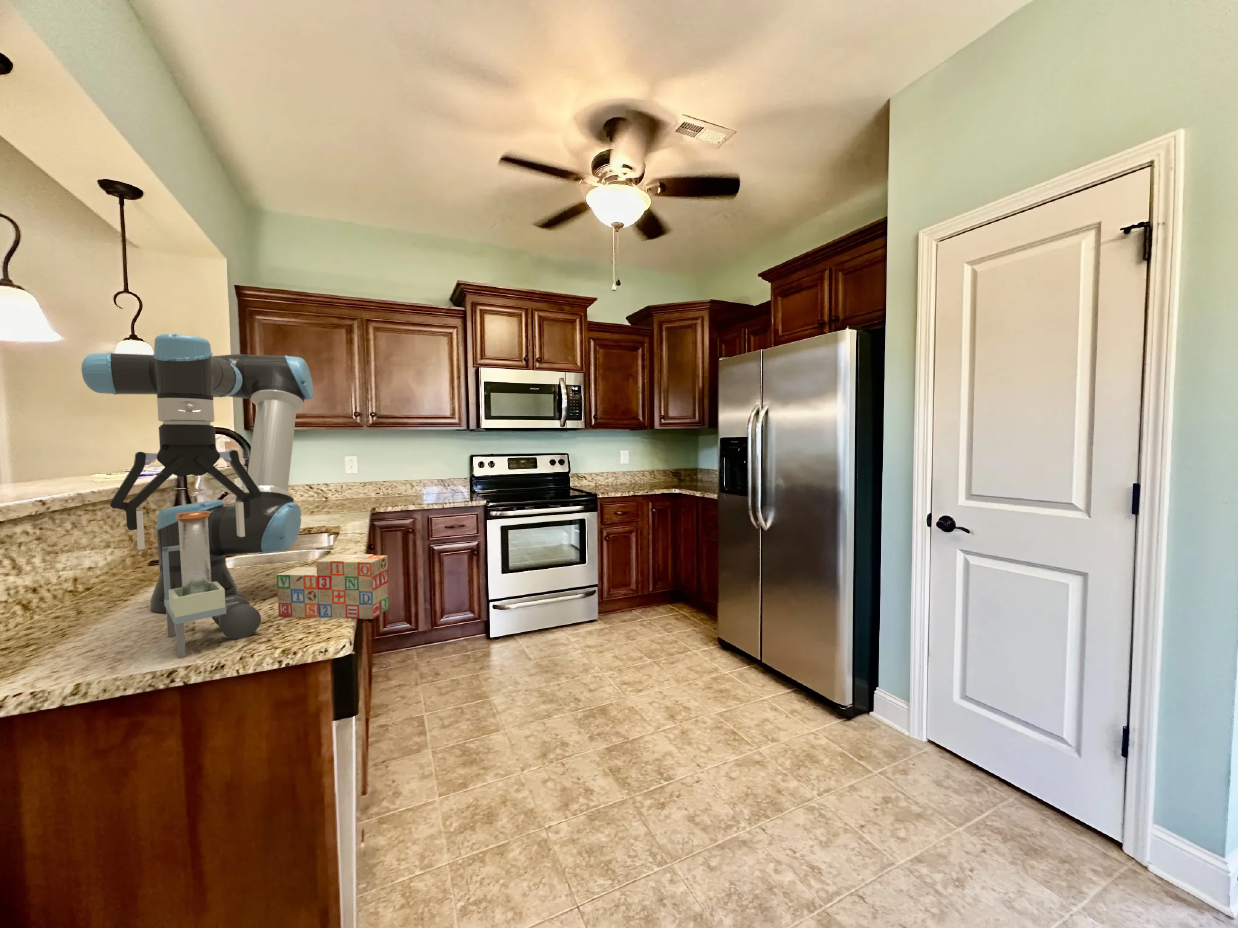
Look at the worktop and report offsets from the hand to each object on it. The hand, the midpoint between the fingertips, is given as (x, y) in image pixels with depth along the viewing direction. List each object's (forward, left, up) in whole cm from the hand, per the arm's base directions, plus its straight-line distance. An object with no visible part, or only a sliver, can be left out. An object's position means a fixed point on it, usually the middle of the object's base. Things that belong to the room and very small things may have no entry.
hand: (193, 541), depth 88 cm
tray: (0, 0, -12) cm, 12 cm away
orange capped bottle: (0, 0, -12) cm, 12 cm away
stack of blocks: (0, +22, -20) cm, 30 cm away
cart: (-4, +3, -19) cm, 20 cm away
